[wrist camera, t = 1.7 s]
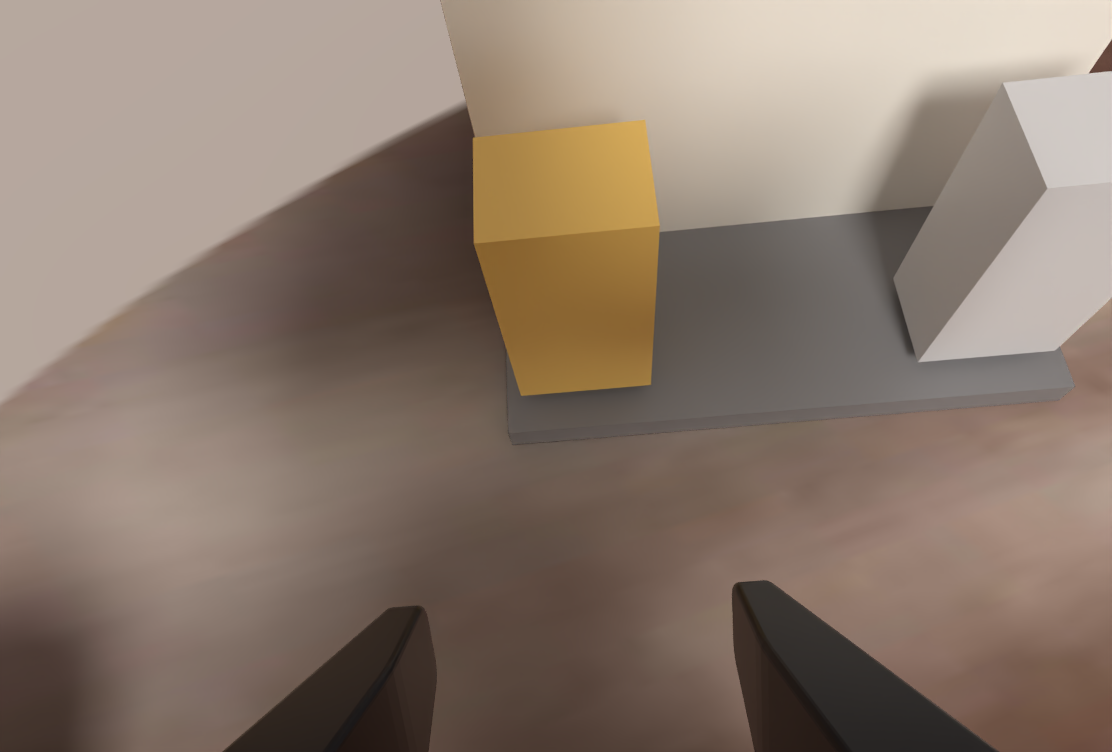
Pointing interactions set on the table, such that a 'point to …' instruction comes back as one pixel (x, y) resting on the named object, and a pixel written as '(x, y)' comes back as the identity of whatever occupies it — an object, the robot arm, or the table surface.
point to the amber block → (570, 253)
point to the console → (775, 186)
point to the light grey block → (1018, 227)
